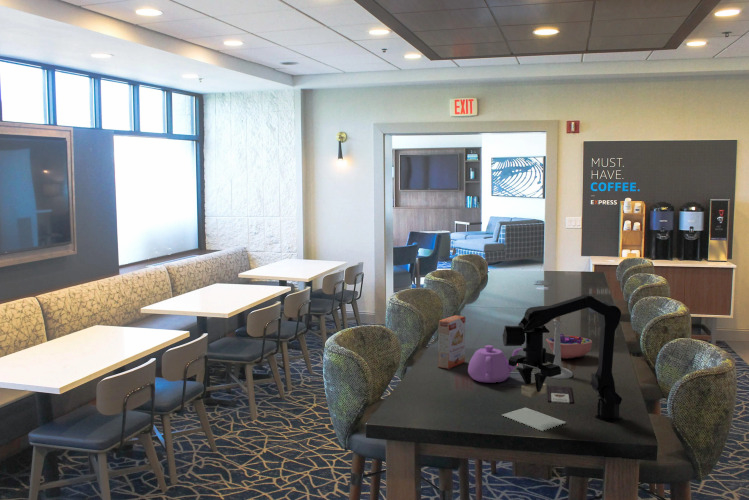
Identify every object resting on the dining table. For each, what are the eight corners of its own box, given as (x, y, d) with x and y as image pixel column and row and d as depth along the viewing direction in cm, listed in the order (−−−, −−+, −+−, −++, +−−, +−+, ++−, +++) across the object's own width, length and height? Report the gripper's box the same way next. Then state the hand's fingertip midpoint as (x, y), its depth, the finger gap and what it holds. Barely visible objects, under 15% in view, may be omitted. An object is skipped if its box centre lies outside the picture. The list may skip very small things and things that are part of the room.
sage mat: (566, 423, 231) (566, 422, 231) (541, 431, 224) (541, 430, 224) (525, 408, 246) (525, 407, 246) (501, 416, 239) (501, 414, 239)
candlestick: (537, 376, 284) (538, 304, 280) (545, 368, 295) (546, 299, 291) (568, 380, 278) (570, 307, 274) (575, 372, 289) (577, 301, 285)
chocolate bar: (571, 386, 268) (573, 402, 251) (571, 389, 268) (573, 404, 251) (547, 385, 270) (547, 400, 253) (547, 387, 270) (547, 403, 253)
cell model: (596, 362, 302) (597, 337, 301) (551, 363, 302) (551, 338, 301) (585, 352, 319) (586, 328, 318) (542, 353, 319) (542, 329, 318)
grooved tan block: (530, 397, 230) (530, 388, 230) (521, 394, 233) (521, 385, 233) (546, 392, 235) (546, 383, 234) (537, 389, 238) (537, 380, 238)
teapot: (522, 389, 268) (522, 354, 266) (466, 386, 272) (466, 352, 271) (521, 372, 289) (522, 340, 288) (469, 370, 294) (469, 338, 292)
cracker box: (449, 369, 295) (449, 321, 292) (437, 367, 298) (437, 320, 296) (465, 362, 306) (466, 316, 303) (454, 360, 309) (454, 314, 307)
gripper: (572, 346, 229) (571, 392, 231) (529, 336, 244) (529, 379, 246) (550, 352, 223) (549, 399, 225) (507, 341, 238) (507, 385, 240)
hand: (533, 390), depth 234 cm, fingers closed on grooved tan block, 4 cm apart
